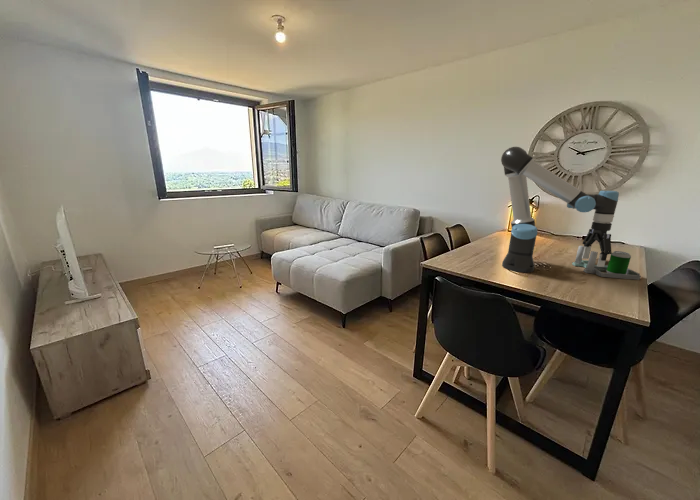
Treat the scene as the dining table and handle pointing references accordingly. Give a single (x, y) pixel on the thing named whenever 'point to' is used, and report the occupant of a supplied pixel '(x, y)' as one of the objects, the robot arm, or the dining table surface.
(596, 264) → the walnut block
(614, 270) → the soda can
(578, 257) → the lane
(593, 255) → the frame
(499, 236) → the dining table surface
